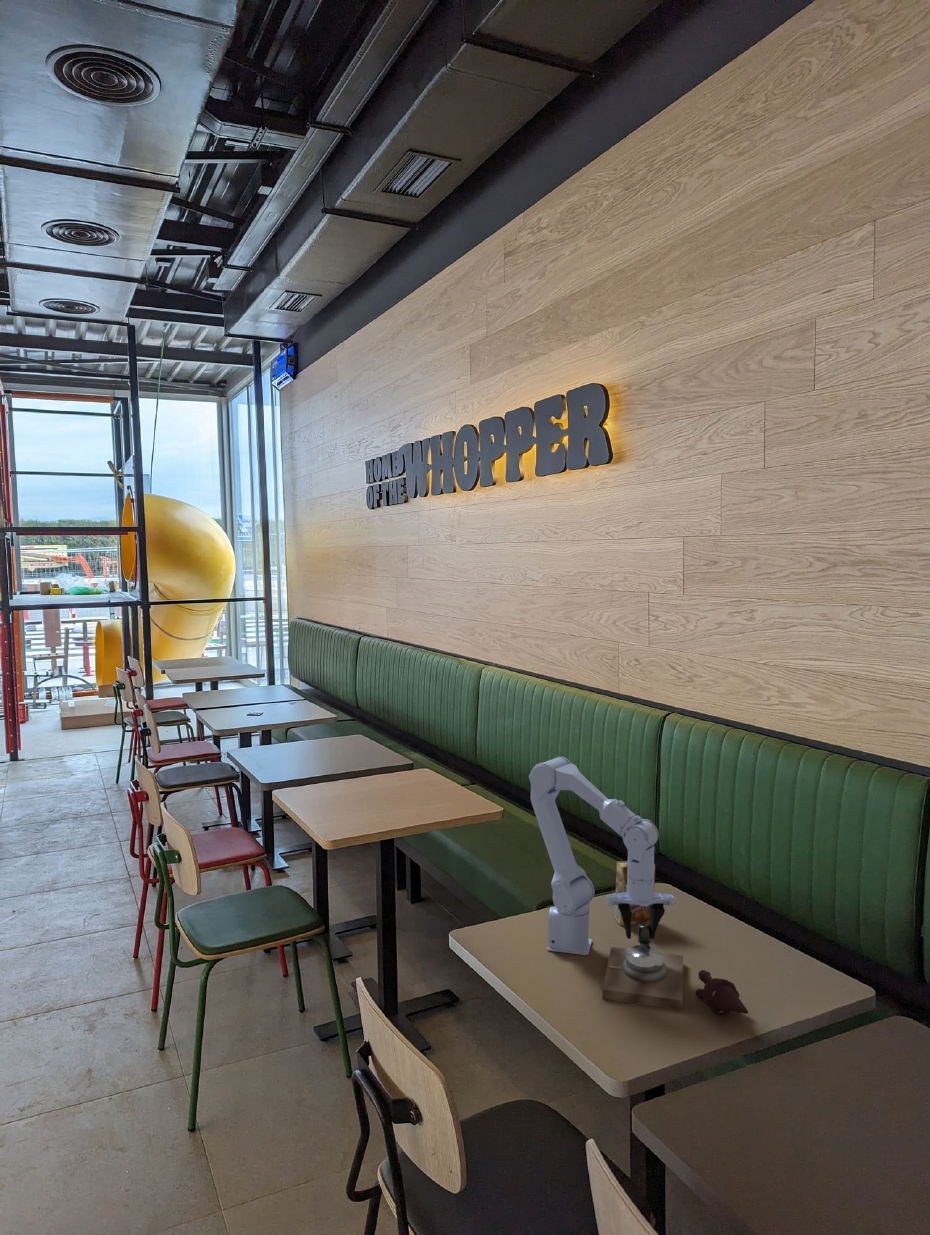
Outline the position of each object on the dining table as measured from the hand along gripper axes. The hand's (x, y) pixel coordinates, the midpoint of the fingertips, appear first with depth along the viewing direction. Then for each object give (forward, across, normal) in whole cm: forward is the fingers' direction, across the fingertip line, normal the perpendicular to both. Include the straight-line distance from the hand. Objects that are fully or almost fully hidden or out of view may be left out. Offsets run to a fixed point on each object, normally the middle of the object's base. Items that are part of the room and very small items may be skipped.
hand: (639, 936), depth 184 cm
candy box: (+7, +4, +24) cm, 25 cm away
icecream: (+7, +12, -18) cm, 23 cm away
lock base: (+7, 0, -6) cm, 9 cm away
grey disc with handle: (+3, 0, -4) cm, 5 cm away
